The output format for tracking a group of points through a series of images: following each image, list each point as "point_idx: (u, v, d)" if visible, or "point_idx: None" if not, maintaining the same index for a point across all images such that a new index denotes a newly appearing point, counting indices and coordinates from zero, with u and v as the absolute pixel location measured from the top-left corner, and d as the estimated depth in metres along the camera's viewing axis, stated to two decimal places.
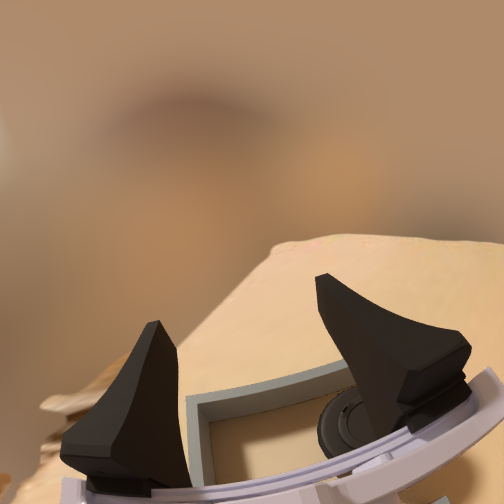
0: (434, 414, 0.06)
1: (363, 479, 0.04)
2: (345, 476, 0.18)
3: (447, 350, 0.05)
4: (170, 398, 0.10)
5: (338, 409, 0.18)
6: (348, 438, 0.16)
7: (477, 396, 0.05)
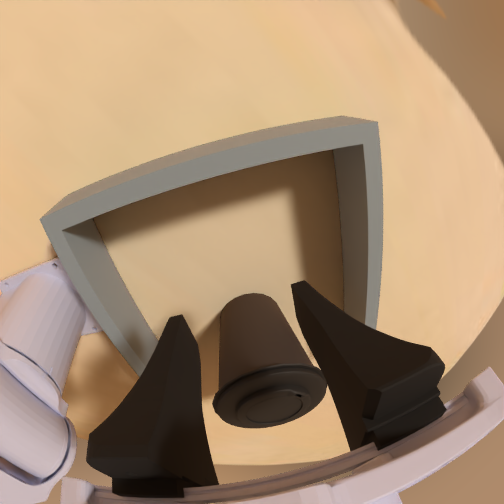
0: (402, 432, 0.06)
1: (363, 479, 0.04)
2: (223, 329, 0.22)
3: (414, 368, 0.05)
4: (195, 394, 0.10)
5: (303, 383, 0.16)
6: (259, 400, 0.16)
7: (477, 396, 0.05)
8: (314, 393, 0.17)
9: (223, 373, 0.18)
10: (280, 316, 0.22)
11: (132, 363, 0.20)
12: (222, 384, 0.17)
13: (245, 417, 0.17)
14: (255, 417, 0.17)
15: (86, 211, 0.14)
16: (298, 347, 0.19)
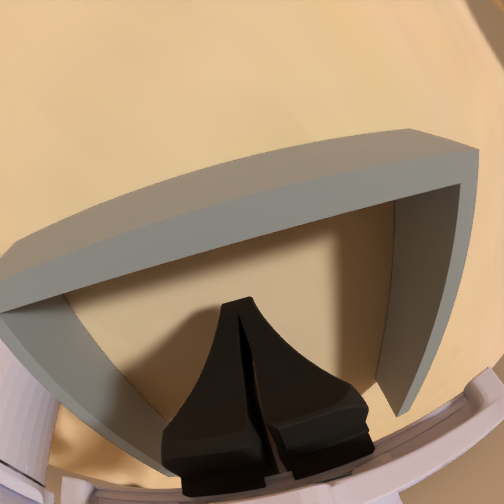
0: (320, 466, 0.06)
1: (363, 479, 0.04)
2: None
3: (319, 408, 0.05)
4: (253, 381, 0.10)
5: None
6: None
7: (477, 396, 0.05)
8: None
9: None
10: None
11: (124, 447, 0.13)
12: None
13: None
14: None
15: (22, 293, 0.07)
16: None
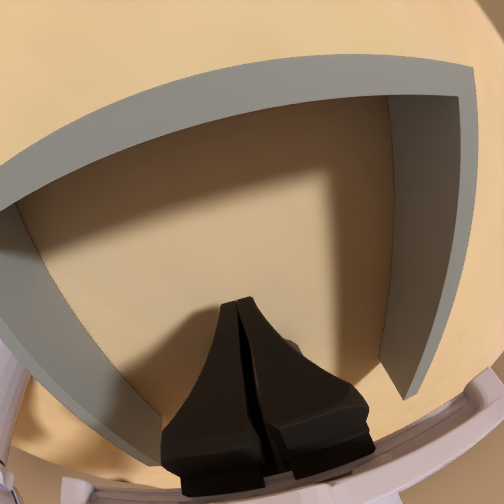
0: (320, 466, 0.06)
1: (363, 479, 0.04)
2: None
3: (320, 408, 0.05)
4: (253, 381, 0.10)
5: None
6: None
7: (477, 396, 0.05)
8: None
9: None
10: None
11: (92, 425, 0.12)
12: None
13: None
14: None
15: None
16: None
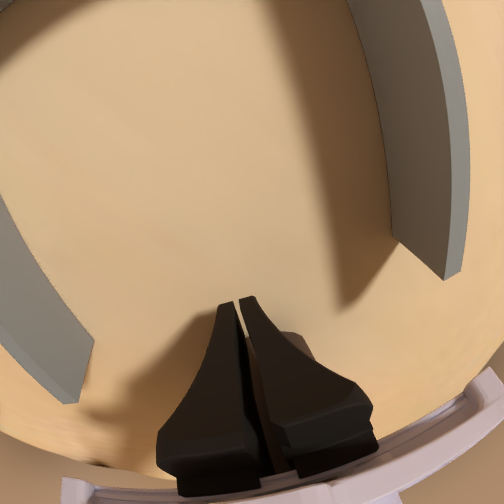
0: (324, 465, 0.06)
1: (363, 479, 0.04)
2: None
3: (325, 407, 0.05)
4: (250, 382, 0.10)
5: None
6: None
7: (477, 396, 0.05)
8: None
9: None
10: None
11: None
12: None
13: None
14: None
15: None
16: None
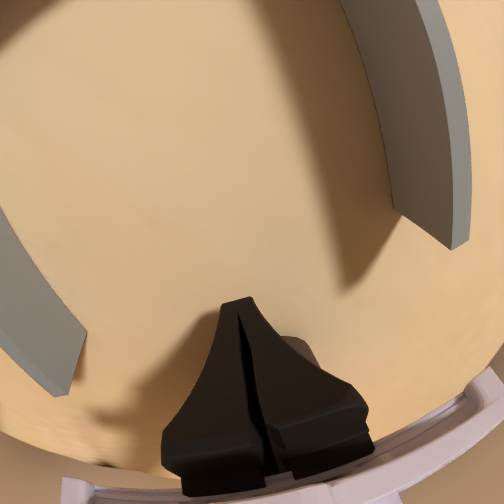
0: (320, 466, 0.06)
1: (363, 479, 0.04)
2: None
3: (320, 408, 0.05)
4: (253, 381, 0.10)
5: None
6: None
7: (477, 396, 0.05)
8: None
9: None
10: None
11: None
12: None
13: None
14: None
15: None
16: None
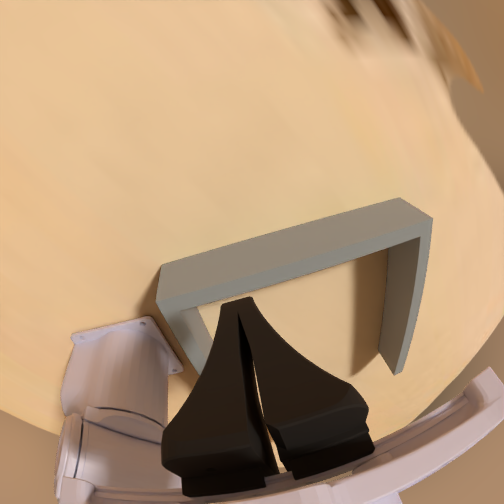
0: (320, 466, 0.06)
1: (363, 479, 0.04)
2: None
3: (319, 408, 0.05)
4: (253, 381, 0.10)
5: None
6: None
7: (477, 396, 0.05)
8: None
9: None
10: None
11: None
12: None
13: None
14: None
15: (208, 297, 0.18)
16: None
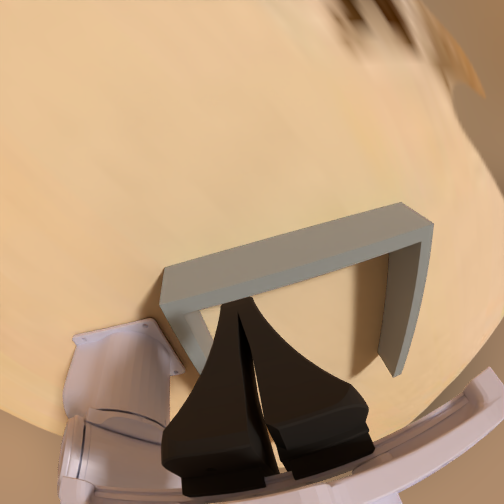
0: (320, 466, 0.06)
1: (363, 479, 0.04)
2: None
3: (320, 408, 0.05)
4: (253, 381, 0.10)
5: None
6: None
7: (477, 396, 0.05)
8: None
9: None
10: None
11: None
12: None
13: None
14: None
15: (211, 300, 0.18)
16: None
